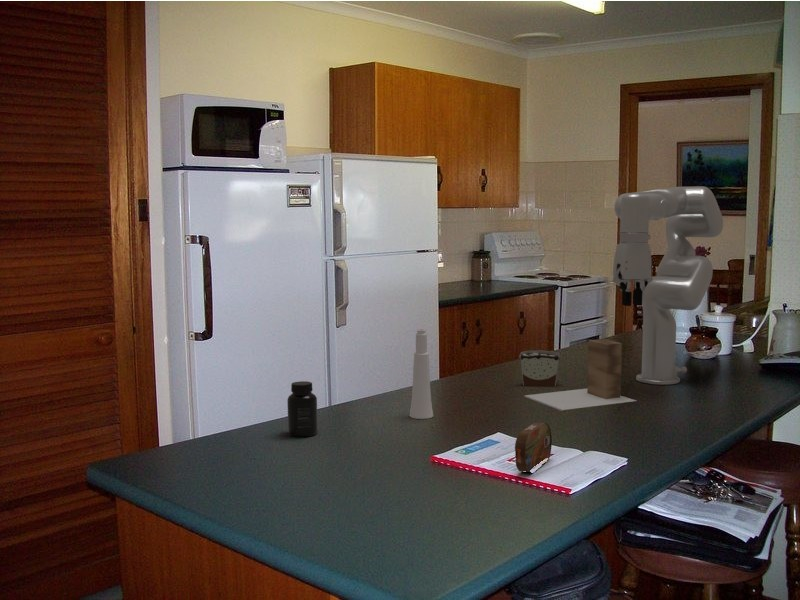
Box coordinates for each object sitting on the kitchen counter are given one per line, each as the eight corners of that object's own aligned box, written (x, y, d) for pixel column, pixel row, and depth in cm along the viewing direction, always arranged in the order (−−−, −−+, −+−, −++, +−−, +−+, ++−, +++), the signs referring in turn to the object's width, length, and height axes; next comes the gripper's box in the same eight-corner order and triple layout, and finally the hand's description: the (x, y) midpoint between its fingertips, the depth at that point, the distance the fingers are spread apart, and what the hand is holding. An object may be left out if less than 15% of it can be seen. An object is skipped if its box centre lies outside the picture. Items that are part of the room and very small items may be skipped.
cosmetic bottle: (404, 416, 205) (404, 329, 203) (420, 411, 210) (420, 327, 207) (422, 420, 201) (422, 332, 199) (438, 415, 206) (438, 329, 203)
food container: (558, 383, 243) (559, 350, 242) (560, 388, 237) (561, 354, 236) (517, 382, 245) (517, 349, 243) (518, 387, 238) (518, 353, 237)
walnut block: (602, 391, 231) (603, 339, 229) (620, 397, 223) (622, 343, 222) (587, 393, 229) (588, 340, 227) (605, 399, 221) (606, 344, 220)
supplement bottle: (322, 431, 192) (321, 381, 191) (310, 438, 185) (309, 387, 184) (296, 428, 194) (295, 379, 193) (282, 436, 188) (281, 385, 186)
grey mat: (595, 388, 236) (595, 387, 236) (636, 402, 219) (637, 400, 219) (524, 396, 226) (524, 395, 226) (562, 411, 210) (562, 409, 210)
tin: (527, 479, 158) (527, 436, 157) (511, 476, 159) (512, 434, 158) (553, 458, 171) (553, 419, 170) (538, 456, 172) (539, 417, 171)
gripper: (648, 238, 232) (646, 302, 234) (601, 239, 225) (599, 305, 227) (666, 239, 225) (664, 305, 227) (618, 240, 218) (617, 308, 220)
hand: (632, 304), depth 227 cm, fingers open, 3 cm apart
